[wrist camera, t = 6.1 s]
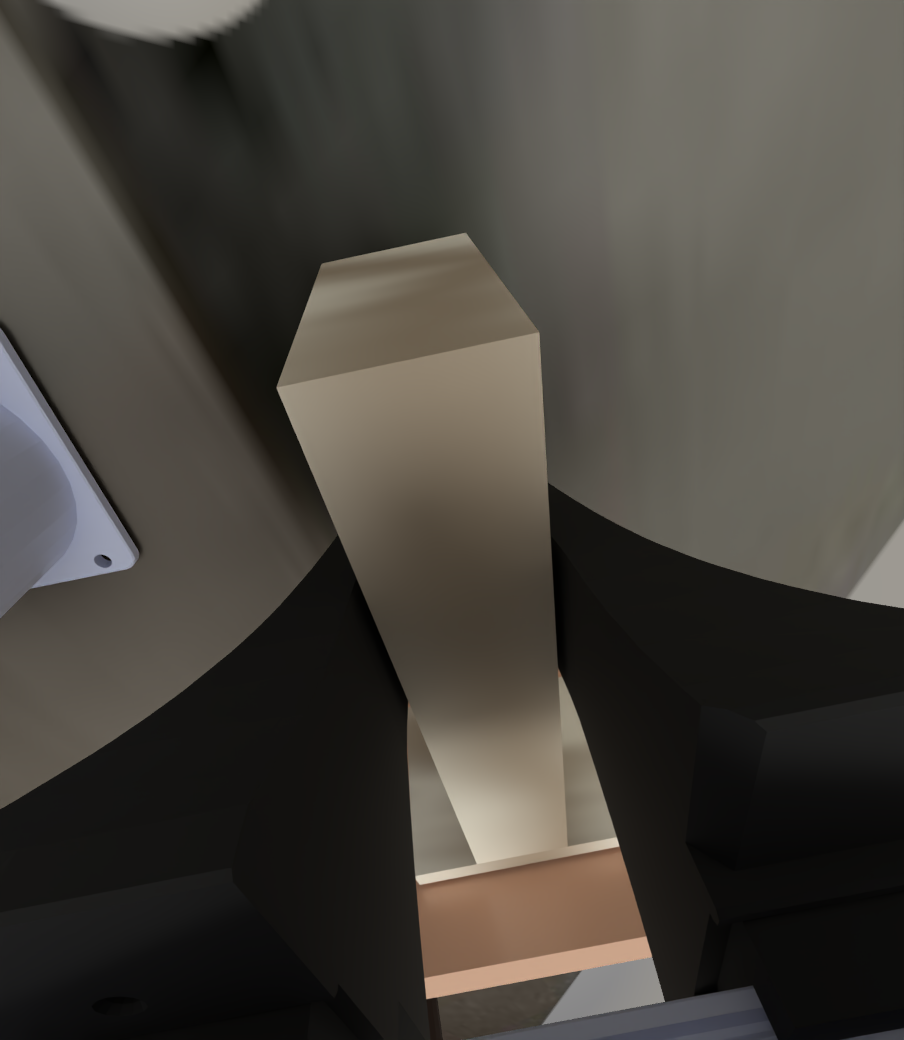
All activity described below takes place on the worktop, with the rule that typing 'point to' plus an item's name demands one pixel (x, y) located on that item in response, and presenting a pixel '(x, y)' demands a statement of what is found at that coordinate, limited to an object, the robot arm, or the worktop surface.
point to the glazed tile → (528, 922)
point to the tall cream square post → (450, 543)
